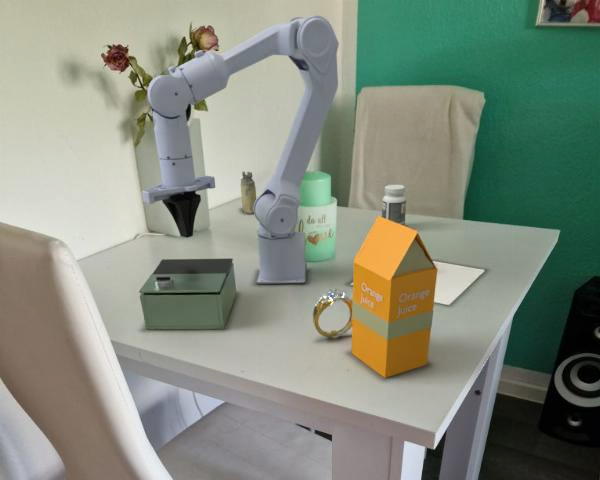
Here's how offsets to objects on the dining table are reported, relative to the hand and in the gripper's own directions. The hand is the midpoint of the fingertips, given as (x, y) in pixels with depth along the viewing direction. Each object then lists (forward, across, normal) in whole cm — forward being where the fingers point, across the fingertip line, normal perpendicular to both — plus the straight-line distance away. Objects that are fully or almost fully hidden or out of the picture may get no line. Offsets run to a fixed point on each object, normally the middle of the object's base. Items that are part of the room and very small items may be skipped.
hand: (186, 236), depth 102 cm
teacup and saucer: (+11, +32, -31) cm, 46 cm away
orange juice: (+11, +1, -45) cm, 46 cm away
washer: (+10, -6, -8) cm, 15 cm away
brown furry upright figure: (+11, +47, +33) cm, 58 cm away
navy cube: (+10, -4, -6) cm, 12 cm away
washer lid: (+4, -3, -5) cm, 8 cm away
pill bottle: (+11, +56, -8) cm, 58 cm away
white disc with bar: (+4, -10, -11) cm, 16 cm away
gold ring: (+11, +1, -34) cm, 36 cm away
